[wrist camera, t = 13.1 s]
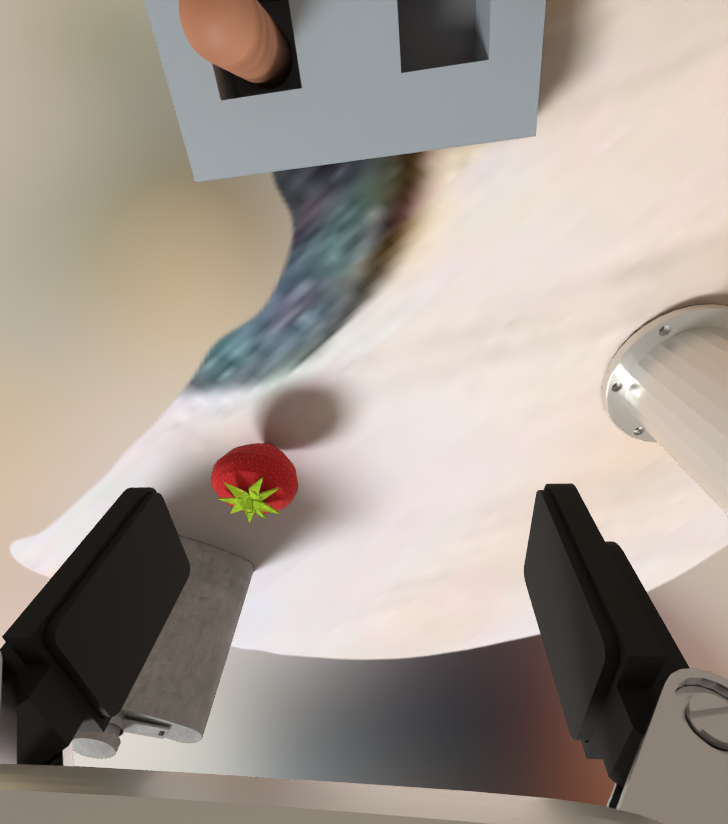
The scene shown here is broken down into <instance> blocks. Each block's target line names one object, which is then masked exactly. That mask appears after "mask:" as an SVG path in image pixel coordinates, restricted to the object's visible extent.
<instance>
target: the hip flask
mask: <svg viewBox="0 0 728 824" xmlns="http://www.w3.org/2000/svg"><path fill="white" fill-rule="evenodd" d="M179 538H180V541H181V543H182V545H183V548H184V550H185V553H186V555H187V558H188V560H189V563H190V574H189V577H188V580H187V582H186V584H185V586H184V588H183V590H182V592H181V593H180V595H179V597H178V599H177V601H176V603H175V605H174V607H173V609H172V611H171V613H170V615H169V617H168V619H167V621H166V623H165V625H164V627H163V629H162V631H161V633H160V635H159V637H158V639H157V641H156V642H155V644H154V646H153V648H152V650H151V652H150V654H149V656H148V658H147V660H146V662H145V664H144V666H143V668H142V670H141V672H140V674H139V676H138V678H137V680H136V682H135V684H134V686H133V688H132V690H131V691H130V693H129V695H128V697H127V699H126V701H125V703H124V705H123V707H122V709H121V710H120V712H119V713H118V714H117V715H115V716H114V717H112V718H111V720H110V722H109V724H108V726H107V728H106V729H105V731H104V732H88V731H80V729H78V731H77V733H76V734H75V736H74V738H73V740H72V748H73V751H75V752H76V753H79V754H80V755H83V756H87V757H91V758H100V759H103V758H110V757H113V756H114V755H115V754H116V752H117V750H118V747H119V745H120V743H121V742H120V738H119V736H121V735H122V734H123V732H127V733H133V734H138V735H144V736H150V737H156V738H161V739H163V738H164V737H165V738H168V739H171V740H175V741H178V742H183V743H195V742H198V741H200V740H201V739H202V737H203V734H204V730H205V727H206V724H207V721H208V717H209V714H210V711H211V708H212V704H213V701H214V698H215V695H216V691H217V688H218V685H219V682H220V678H221V675H222V671H223V668H224V665H225V662H226V659H227V655H228V652H229V649H230V646H231V642H232V639H233V636H234V633H235V629H236V626H237V623H238V620H239V616H240V613H241V610H242V606H243V603H244V600H245V597H246V593H247V590H248V587H249V584H250V580H251V577H252V574H253V571H254V566H253V565H252V563H251V562H249V561H248V560H246V559H244V558H241V557H239V556H237V555H234V554H232V553H230V552H227V551H225V550H222V549H219V548H217V547H214V546H211V545H208V544H205V543H202V542H199V541H195V540H192V539H189V538H185V537H182V536H179Z"/></svg>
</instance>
